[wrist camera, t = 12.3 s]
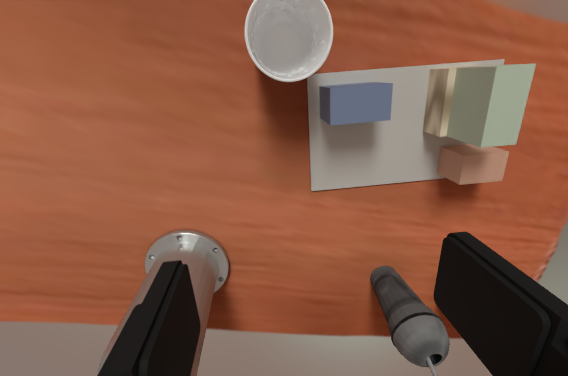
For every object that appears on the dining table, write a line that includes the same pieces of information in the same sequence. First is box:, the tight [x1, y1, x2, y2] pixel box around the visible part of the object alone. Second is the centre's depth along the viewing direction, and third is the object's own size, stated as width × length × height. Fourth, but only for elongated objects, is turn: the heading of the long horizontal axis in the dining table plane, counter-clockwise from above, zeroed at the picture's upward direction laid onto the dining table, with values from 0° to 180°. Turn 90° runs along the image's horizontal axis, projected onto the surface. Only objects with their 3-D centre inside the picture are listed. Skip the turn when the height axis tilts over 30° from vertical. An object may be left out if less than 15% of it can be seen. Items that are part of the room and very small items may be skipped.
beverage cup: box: [370, 266, 450, 376], centre depth 40 cm, size 7×7×20 cm
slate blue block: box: [319, 82, 393, 125], centre depth 34 cm, size 7×4×6 cm, turn 94°
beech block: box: [423, 65, 489, 137], centre depth 36 cm, size 8×6×4 cm
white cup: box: [245, 0, 333, 82], centre depth 30 cm, size 8×8×10 cm
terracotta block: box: [437, 144, 509, 185], centre depth 39 cm, size 4×6×5 cm, turn 94°
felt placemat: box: [307, 59, 505, 191], centre depth 39 cm, size 16×26×1 cm, turn 94°
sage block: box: [446, 64, 536, 147], centre depth 32 cm, size 8×4×6 cm, turn 4°
